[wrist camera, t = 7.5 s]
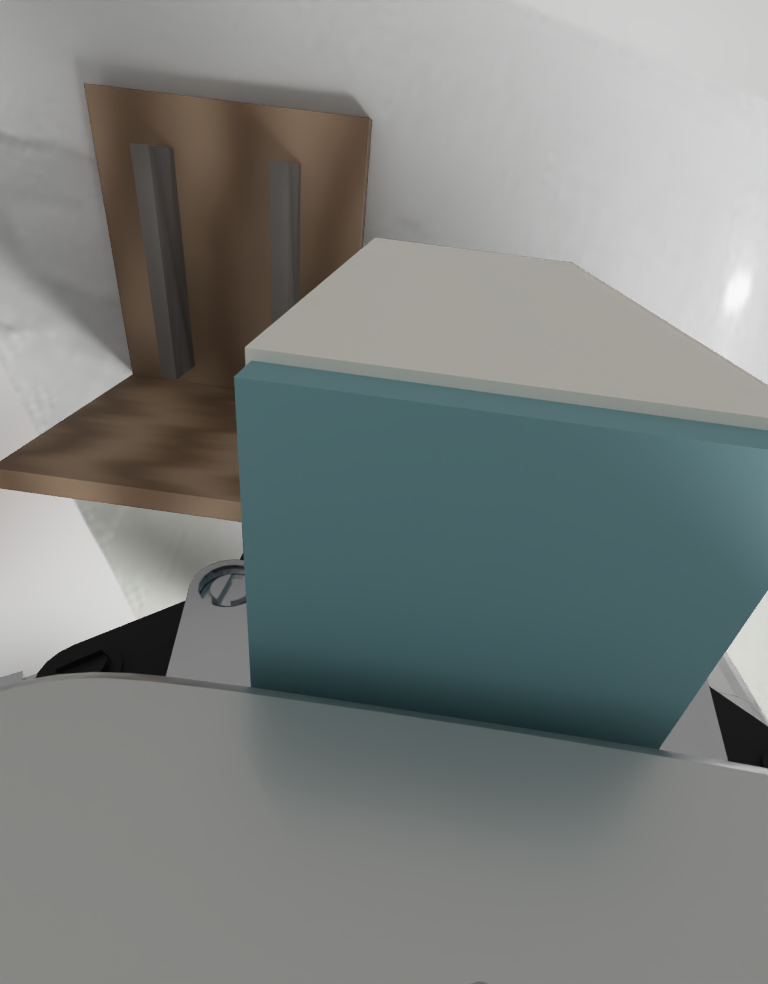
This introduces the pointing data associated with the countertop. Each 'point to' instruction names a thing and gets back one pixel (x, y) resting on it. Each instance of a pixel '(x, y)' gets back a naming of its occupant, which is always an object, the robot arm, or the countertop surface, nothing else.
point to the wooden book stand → (198, 285)
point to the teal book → (496, 496)
